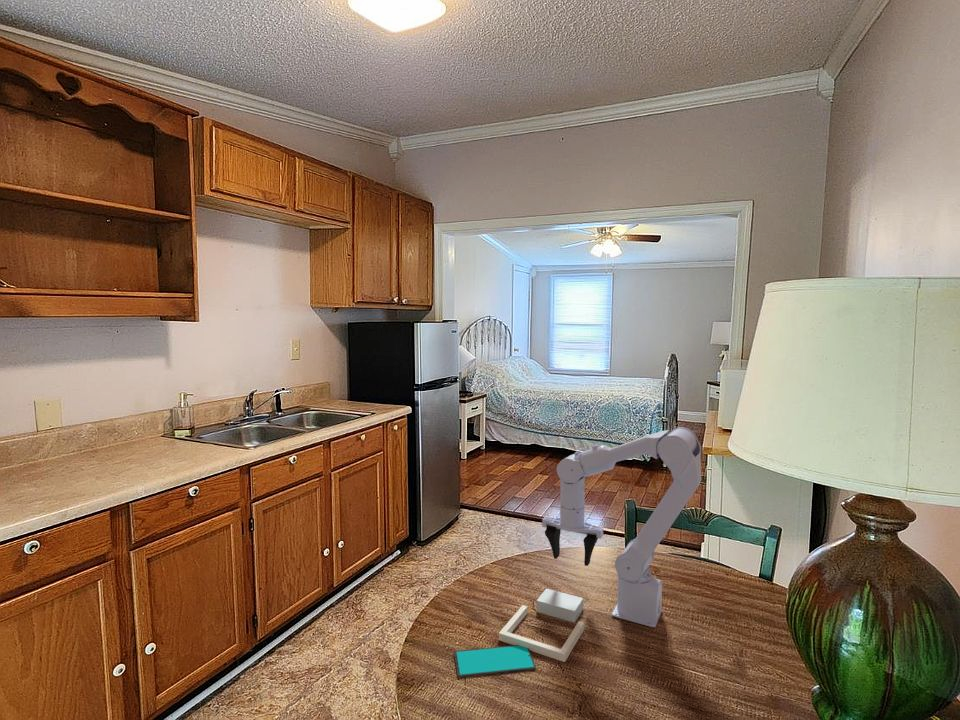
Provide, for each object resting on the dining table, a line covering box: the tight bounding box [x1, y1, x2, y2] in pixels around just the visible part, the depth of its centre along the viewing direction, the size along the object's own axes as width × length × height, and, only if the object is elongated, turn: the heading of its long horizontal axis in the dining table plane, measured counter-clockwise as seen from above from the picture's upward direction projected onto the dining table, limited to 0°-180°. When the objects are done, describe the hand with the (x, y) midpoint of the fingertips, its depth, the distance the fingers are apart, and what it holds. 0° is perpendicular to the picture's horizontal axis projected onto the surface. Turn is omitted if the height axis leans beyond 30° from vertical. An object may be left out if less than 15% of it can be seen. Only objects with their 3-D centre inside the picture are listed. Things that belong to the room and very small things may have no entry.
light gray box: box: [536, 588, 584, 623], centre depth 121 cm, size 9×6×3 cm, turn 62°
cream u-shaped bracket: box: [498, 604, 585, 663], centre depth 112 cm, size 14×12×2 cm
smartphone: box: [453, 645, 536, 679], centre depth 103 cm, size 7×1×15 cm
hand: (571, 560), depth 127 cm, fingers open, 7 cm apart
